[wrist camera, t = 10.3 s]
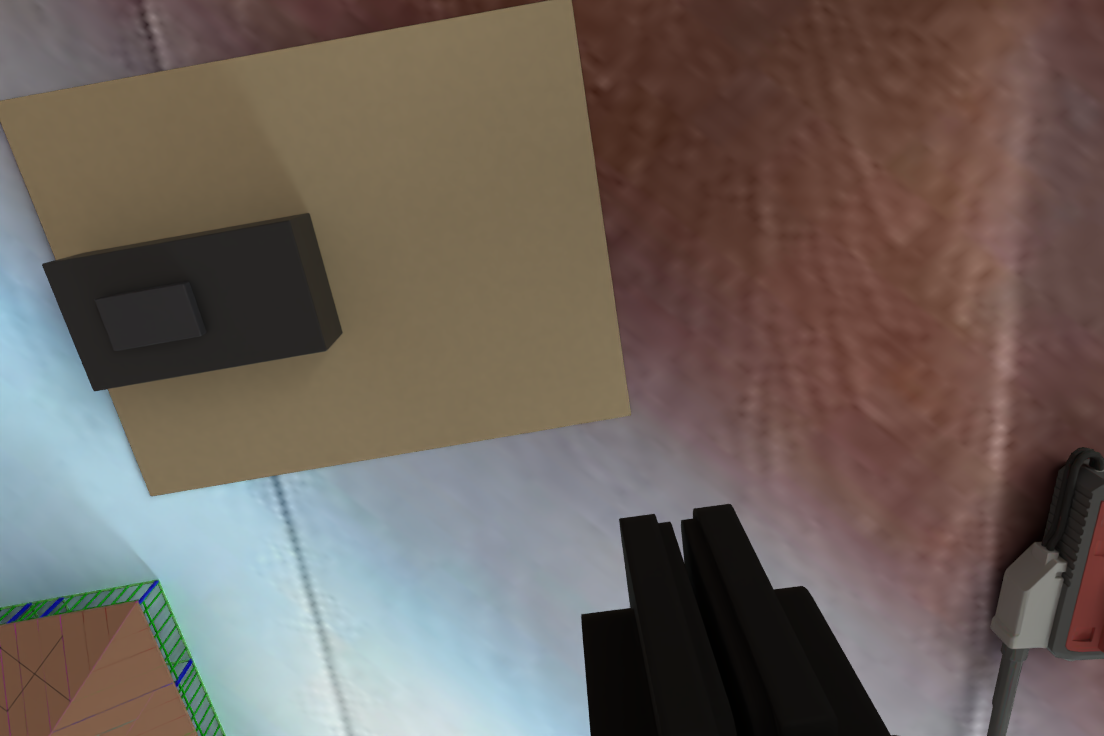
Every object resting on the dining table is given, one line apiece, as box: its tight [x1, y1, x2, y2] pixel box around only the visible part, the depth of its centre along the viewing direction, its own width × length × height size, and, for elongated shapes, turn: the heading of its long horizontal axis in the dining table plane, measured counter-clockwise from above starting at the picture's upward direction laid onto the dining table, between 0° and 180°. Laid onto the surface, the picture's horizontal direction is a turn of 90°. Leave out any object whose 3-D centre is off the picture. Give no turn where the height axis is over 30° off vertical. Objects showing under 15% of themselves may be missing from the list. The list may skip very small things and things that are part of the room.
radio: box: [42, 213, 343, 391], centre depth 32 cm, size 6×4×11 cm
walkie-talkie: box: [987, 447, 1104, 736], centre depth 40 cm, size 9×4×20 cm
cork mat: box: [0, 0, 631, 496], centre depth 34 cm, size 20×26×1 cm
